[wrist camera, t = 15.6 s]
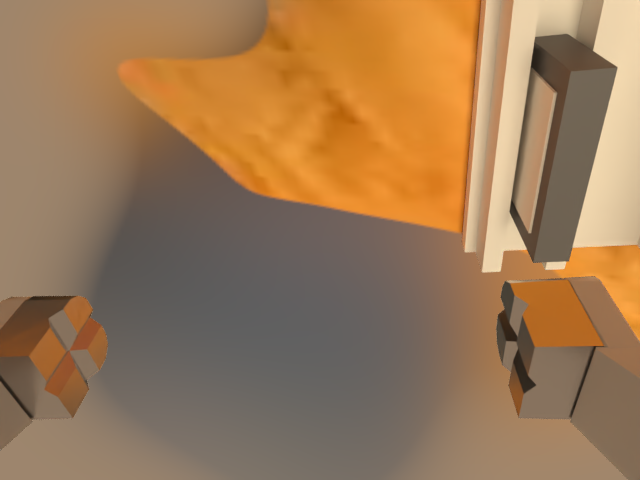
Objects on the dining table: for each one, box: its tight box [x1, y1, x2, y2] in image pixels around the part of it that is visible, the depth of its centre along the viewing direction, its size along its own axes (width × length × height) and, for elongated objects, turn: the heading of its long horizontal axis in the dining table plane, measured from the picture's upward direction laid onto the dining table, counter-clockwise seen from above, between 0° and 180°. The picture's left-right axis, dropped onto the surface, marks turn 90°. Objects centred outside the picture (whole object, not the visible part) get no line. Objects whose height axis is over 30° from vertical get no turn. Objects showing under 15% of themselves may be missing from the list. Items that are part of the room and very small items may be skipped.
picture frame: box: [509, 34, 618, 263], centre depth 34 cm, size 14×3×8 cm, turn 6°
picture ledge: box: [462, 0, 640, 272], centre depth 31 cm, size 24×17×18 cm
